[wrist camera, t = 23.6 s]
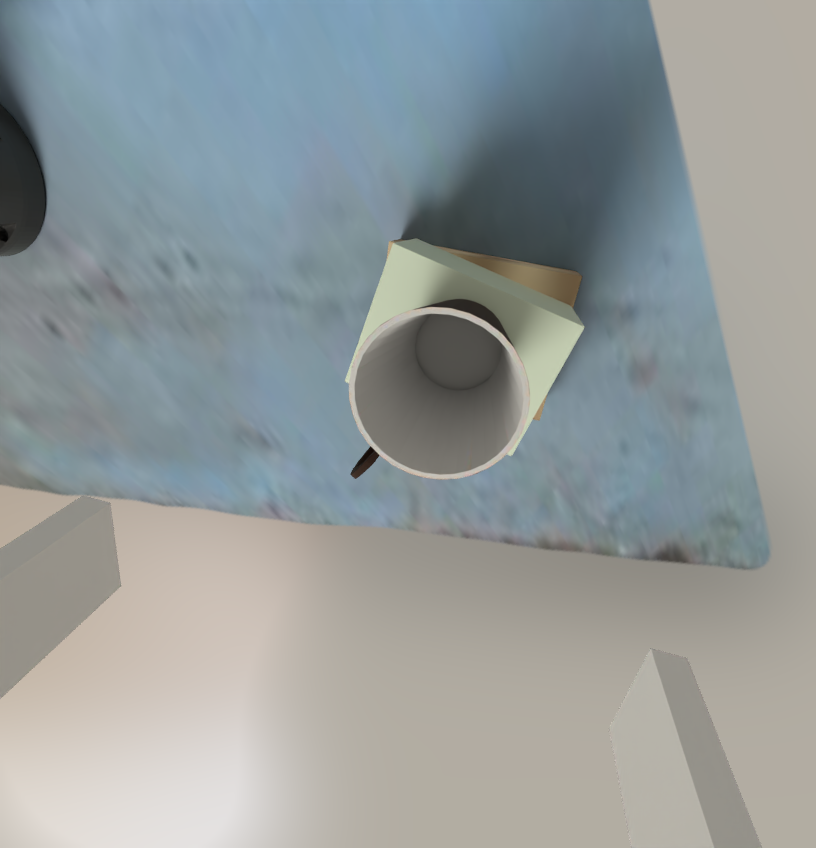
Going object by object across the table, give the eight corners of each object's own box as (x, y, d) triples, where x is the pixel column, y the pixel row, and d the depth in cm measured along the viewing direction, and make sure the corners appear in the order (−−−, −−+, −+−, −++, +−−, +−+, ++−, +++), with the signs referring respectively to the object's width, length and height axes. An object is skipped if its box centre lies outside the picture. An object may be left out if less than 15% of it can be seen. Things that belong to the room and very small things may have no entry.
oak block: (382, 370, 46) (370, 383, 43) (399, 239, 41) (389, 241, 38) (537, 404, 44) (539, 420, 41) (575, 271, 39) (582, 276, 36)
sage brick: (374, 353, 41) (344, 381, 34) (416, 238, 37) (392, 243, 30) (511, 414, 41) (511, 456, 34) (571, 305, 37) (584, 327, 30)
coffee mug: (498, 257, 29) (491, 275, 20) (543, 385, 31) (554, 452, 22) (335, 327, 33) (268, 369, 24) (387, 436, 35) (343, 511, 26)
